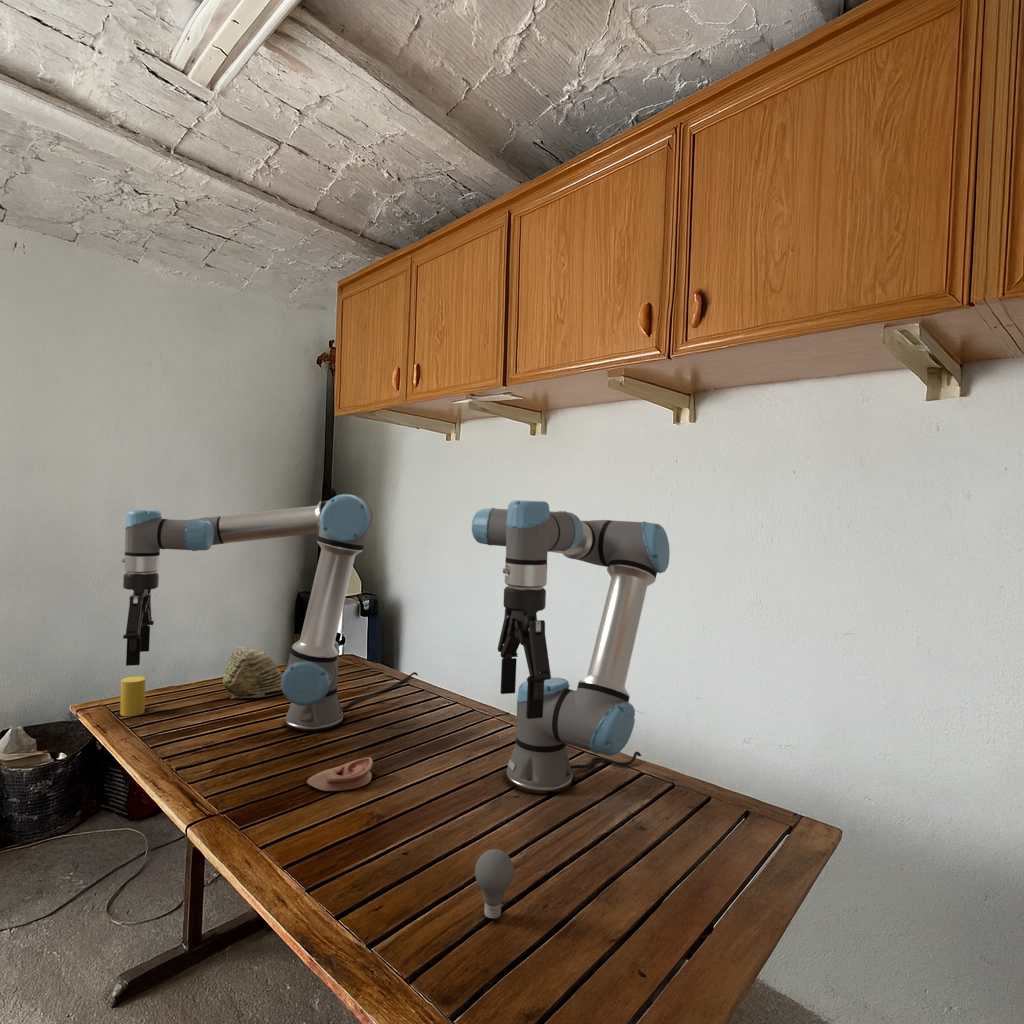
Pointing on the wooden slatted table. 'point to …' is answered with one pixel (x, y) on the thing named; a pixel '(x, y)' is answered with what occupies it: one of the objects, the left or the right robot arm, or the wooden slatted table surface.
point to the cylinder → (132, 696)
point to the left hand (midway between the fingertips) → (138, 658)
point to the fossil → (251, 674)
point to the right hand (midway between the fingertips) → (520, 704)
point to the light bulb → (494, 879)
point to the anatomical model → (343, 776)
